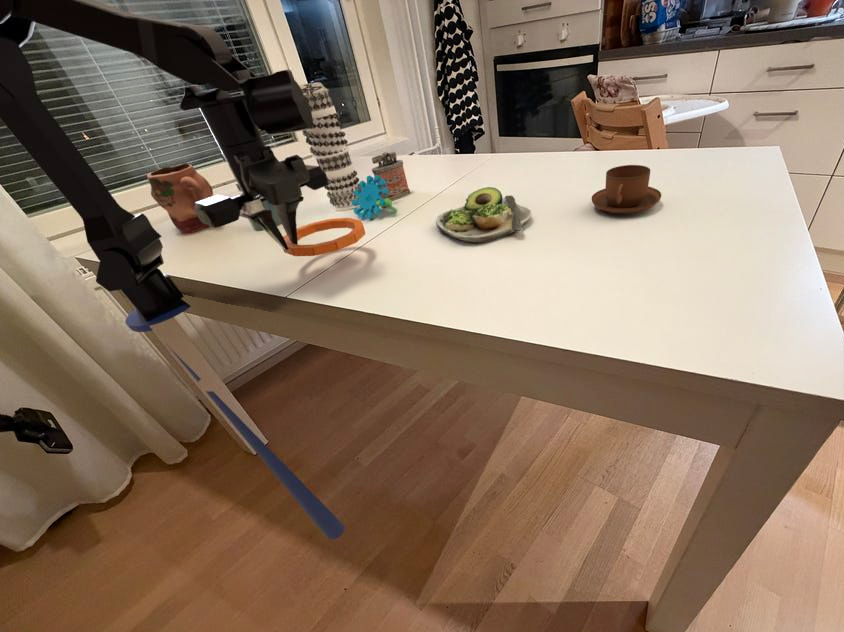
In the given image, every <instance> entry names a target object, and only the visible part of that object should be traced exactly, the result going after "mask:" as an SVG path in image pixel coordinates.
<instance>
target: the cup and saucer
mask: <svg viewBox="0 0 844 632" xmlns="http://www.w3.org/2000/svg"><path fill="white" fill-rule="evenodd" d="M650 177H651V168H650V167H648V166H646V165H640V164H626V165H619V166H615V167H612V168H609V169H608V170H607V171H606V172H605V188H603V189H600V190H598V191H597V192H595V193H594V194H592V196H591V203H592V204H593V205H594V207H596V208H597V209H599V210H600V211H603V212H607V213H613V214H631V213H638V212H642V211H646V210H649V209H650V208H652V207H654V206H656V205H657V204H658V203H659V202H660V200H661V198H662V192H661V191H660V190H659V189H657V188H655V187H652V186H649V184H650Z"/></svg>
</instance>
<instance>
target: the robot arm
mask: <svg viewBox="0 0 844 632" xmlns="http://www.w3.org/2000/svg"><path fill="white" fill-rule="evenodd" d="M36 24H38V25H42V26H46V27H49V28H52V29H54V30H58V31H60V32H64V33H67V34H71V35H74V36H77V37H80V38H84V39H86V40H90V41H93V42H96V43H99V44H101V45H106V46H109V47H112V48H114V49H118V50H120V51H125V52H128V53H130V54H133V55H135V56H138V57H140V58H142V59H144V60H145V61H147V62H148V63H150V64H151V65H152V66H154V67H156V68H158V69H159V70H161V71H162V72H165V73H167V74H169V75H171V76H172V77H175V78H177V79H179V80H182V81H184V82H185V83H187V84H190V86H185V87H184V94H183V97H182V99H181V102H180V103H179V108H180V110H182V111H184V112H187V111H191V110H197V109H199V110H200V112H201V114H202V116H203V118H204V120H205V122H206V124H207V126H208V128H209V130H210V132H211V134H212V136H213V139H214V140H215V142H216V144H217V146H218V148H219V150H220V151H221V153H219V155H220V157H221V159H222V161H223V162H224V163H227V165H228V167H229V169H230V171H231V172H232V175H233V177H234V179H235V181H236V183H235V186H236V188H237V190H238V191H239V192H241V193H240V194H237V195H234V196H232V197H230V196H227V195H223V194H220V193H219V194H216V195H213V196H212V197H209V198H206V199H203V200H201V201H198V202H195V205H194V210H195V212H196V214H197V216H198V217H199V219H200V221H201V222H202V223H204V224H207V225H209V226H208V227H211V228H215V229H216V228H221V227H223V226H226V225H228V224H231V223H234V222H236V221H239V220H240V217H241V218H245V219H248V220H249V219H251V220H253V221H254V222H255V223H257V224H258V225H259V226H260V227H262V228H263V229H264V230H263V231H265V233H267V235H268V236H270V238H272V240H273V241H274V242H276V243H277V244H278V245H279V246H280V247H281V249H282V250H283V249H285V250H287V249H288V247H287V244H286V242H285V240H284V238H283V237H284V235H282V232H281V231H280V229H279V226H277V225H276V224H275V222H274V220H273V217H272V212H271V210H268V209H265V208H264V206H263V204H262V202H263V201H266V200H267V201H268V202H269V203H270V204H272V205H273V206H274V208H275V210H276V212H277V215H278V217H279V219H280V221H281V225H282V228H283V229H284V232H285V235H287V236H288V237H289V239H290V241H291V242H292V243H294V244H297V245H299V242H298V241H299V240H297V228H298V227H297V209H298V207H299V205H300V203H302V202H303V201H304V199H305V197H304V196H303V191H302V188H303V187H307V188H308V189H310V190H312V191H317V190H319V189H322V188H324V187H325V186H327V185H329V184H330V183H329V181H328V178H327V175H326V173H325V172H324V170H323V169H322V168H320V167H319V165H311V164H305V162H304V159H303V158H302V157H301V156H300V155H298V154H294V155H290V156H287V157H285V158H284V160H281V161H279V160H278V158H277V157H276V155H275V153H274V151H273V150H272V148H271V146H270V145H266V143H265V141H264V138H263V137H262V134H261V132H264V131H265V132H266V134H268V135H269V136H271V137H274V136H280V135H286V134H291V133H297V132H302V131H303V130H308V129H312V128H313V118H312V113H311V109H310V106H309V103H308V100H307V98H306V96H304V94H303V92H302V90H301V88H300V84H299V83H298V82H297V81H296V79H295V78H294V74H293V72H292V70H291V69H289V68H288V69H283V70H278V71H275V72H274V73H272V74H268V75H262V76H258V75H257V74H256V73H254V72H253V71H252V70H251V69H250V68H249V67H247V66H246V65H245V64H244V63H243V62H242V61H241V60H240V59H239V58H237V57H236V56H235V55H233V54H232V52H231V50H230V48H229V46H228V44H227V43H226V41H225V40H224V39H223V38H222V36H221V34H220V33H218V32H217V31H215V30H214V29H212V28H210V27H208V26H205V25H199V24H194V23H187V22H182V21H181V22H180V21H172V20H167V19H159V18H151V17H144V16H141V15H138V14H135V13H132V12H129V11H126V10H123V9H121V8H117V7H114V6H112V5H108V4H105V3H102V2H100V1H96V0H0V121H1V122H2V123H3V124H4V125H5V127H6V128H7V129H8V130H9V132H10V133H11V135H12V136H13V137H14V138H15V139H16V140H17V141H18V143H19V144H20V145H21V146H22V147H23V149H24V150H25V151H26V152H27V153H28V155H29V156H30V157H31V158H32V159H33V161H34V162H35V164H36V165H37V166H38V167H39V168H40V169H41V170H42V172H43V173H44V174H45V175H46V177H47V178H48V180H50V181H51V183H52V184H53V185H54V186H55V188H56V189H57V190H58V191H59V193H61V195H62V196H63V198H64V199H66V200H67V203H69V204H70V206H71V207H72V208H73V209H74V211H75V212H76V213H77V214H78V215H79V216H80V218H81V220H82V223H83V228H84V233H85V237H86V242H87V244H88V246H89V247H90V248H91V250H92V252H93V253H94V255H95V256H96V258H97V259H98V261H99V265H98V269H97V274H96V278H95V282H96V283H97V284H98V285H99V286H100V287H102V288H104V290H106V291H107V292H115V291H120V292H121V293H122V295H124V297H125V298H126V299H127V301H128V302H129V303H130V304H131V305H132V306H133V307H134V309H136V311H137V313H138V314H139V315H140V316H141V317H142V318H143V319H144V320H145V321H150V320H152V319H154V318H157V317H159V316H161V315H163V314H165V313H167V312H169V311H171V310H174V309H176V308H178V307H180V306H182V305H184V304H186V303H187V302H186V301H185V300H184V299H183V298H184V294H183V293H182V292H181V290H180V289H179V287H178V286H177V285H176V283H175V281H173V279H172V277H171V276H169V275H168V274H167V273H163V271H162V270H161V269H159V267H161V266H163V265H164V263H165V262H164V258H163V255H162V252H163V248H164V247H163V243H162V241H161V238H162V234H160V233H159V232H157V230H156V229H155V228H154V227H153V225H152V224H151V221H150V220H149V218H148V217H147V215H146V214H144V213H139V214H137V215H135V214H133V213H131V212H129V211H128V210H126V209H125V208H123V207H122V206H121V205H120V204H119V203H118V202H117V200H116V199H115V198H114V196H113V195H112V194H111V192H110V191H109V190H108V188H107V187H106V186H105V184H104V183H103V181H101V179H100V177H99V176H98V175H97V173H96V172H95V171H94V170H93V168H92V167H91V165H90V164H89V163H88V162H87V160H86V159H85V158H84V156H83V155H82V153H81V152H80V151H79V149H78V148H77V146H75V144H74V142H73V141H72V140H71V139H70V137H69V136H68V135H67V133H66V132H65V131H64V129H63V128H62V127H61V125H60V124H59V122H58V121H57V120H56V118H55V117H54V116H53V114H52V113H51V112H50V110H49V109H48V107H46V105H45V104H44V102H43V101H42V100H41V98H40V97H39V95H38V91H37V88H36V87H37V86H36V83H35V77H34V72H33V68H32V66H31V65H30V63H29V61H28V59H27V57H26V56H25V54H24V52H23V51H22V48H21V47H22V46H23V45H24V44H26V43H27V42H28V41H29V40H30V39H31V38H32V37H33V36H32V35H33V32H34V28H35V25H36ZM204 85H205V86H206V85H209V86H212V87H214V88H212V89H207V90H201V89H199V88H197V87H196V86H204ZM239 89H241V90H242V92H243V93H241V94H235V95H232V94H230V91H234V90H239ZM260 131H261V132H260ZM258 195H259V196H258ZM255 196H256V197H255ZM253 197H255V198H253Z"/></svg>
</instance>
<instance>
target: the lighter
mask: <svg viewBox="0 0 844 632" xmlns="http://www.w3.org/2000/svg"><path fill="white" fill-rule="evenodd" d="M371 161H372V165H373V164H378V165H377V166H375V167H373V168H371V172H372V174H373V175H374V176H375V175H378V176H379V177H380V178H381V179H384V180H385V181H386V186H385V187H383V186H381V187H380V189H383V188H386V189H388V190H389V191H388V195H384V194H383V193H382V194H381V198H384V199H385V198H388V199H390V200H391V201H392V202H393V201H395V200H399V199H402V198H403V197H404V198H405V196H408V195H410V194H411V191H410V188H409V185H408V180H407V177H406V172H405V168H404V162H403V160H402V159H398V158H397V153H396V151H391V152H386V151H384V152H382V153H381V154H378V155H375V156H372V157H371ZM380 181H381V180H380ZM380 181H379V182H380ZM379 182H377V183H376V184H378V183H379Z"/></svg>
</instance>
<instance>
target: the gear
mask: <svg viewBox="0 0 844 632" xmlns="http://www.w3.org/2000/svg"><path fill="white" fill-rule="evenodd" d="M380 180H381V181H380ZM379 181H380V182H379ZM377 182H379V183H378V184H377ZM358 184H359V185H360V187H361V193H360V191H359V190H357V189H356V190H355V191H354V195H356V196H358V197H359V201H357V200H355V199H353V201H352V205H354V206H357V205H360V206H358V207H356V208H353V213H354V215H357V216H358V217H359V218H360V219H362V220H365V219H366V218H368V219H369V220H373V219H374V214H376V215H380V214H381V213H382V209H383V210H391V211H393V212H394V213H398V209H397V208H396V207H394V206H393V205H392V204H393V201H391V200H390V199H388V198H385V199H384V198H381V194H382V193H383V194H384V195H388V191H389V190H388V189H386V188H383V189H380V187H381V186H383V187H385V186H386V181H385V180H384V179H381V178H380V177H379V176H378V175H375V176H374V177H373V176H372V175H367V176H366V181H364V180H360V181H359V182H358Z"/></svg>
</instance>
